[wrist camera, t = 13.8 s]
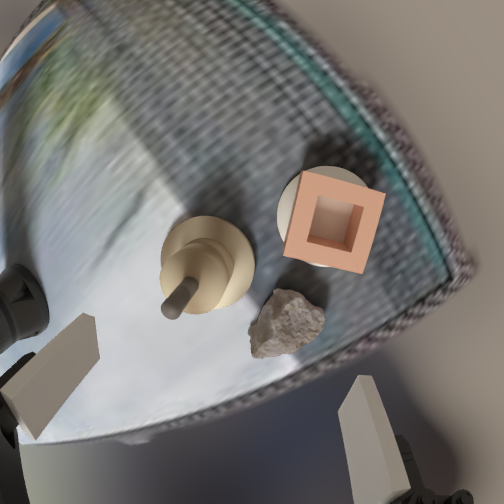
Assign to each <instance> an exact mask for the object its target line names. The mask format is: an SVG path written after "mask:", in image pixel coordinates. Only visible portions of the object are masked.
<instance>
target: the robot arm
mask: <svg viewBox="0 0 504 504" xmlns="http://www.w3.org/2000/svg"><path fill="white" fill-rule="evenodd" d="M48 323H49V312H48V307H47V303H46V300H45V297H44V295H43V292H42V290H41V288H40V286H39V284H38V283H37V281H36V280H35V278H34V277H33V275H32V274H31V273H30V272H29V271H28V270H27V269H26V268H25V267H23V266H22V265H19V264H14V265H11V266H9V267H7V268H6V269H4V271H3V272H2V273H1V274H0V354H2V353H3V352H4V351H5V350H6V349H8V348H9V347H10V346H11V345H12V344H14V343H15V342H16V341H18V340H22V339H26V338H30V337H33V336H37V335H39V334H40V333H42V332H43V331H44V330H45V329H46V328H47V326H48ZM99 359H100V355H99V349H98V341H97V334H96V325H95V317H93V316H90V315H88V314H85V313H82V314H81V315H80V316H79V317H78V318H76V319H75V320H74V321H73V322H72V323H71V324H69V325H68V326H67V327H66V328H65V329H64V330H63V331H61V332H60V333H59V334H58V335H57V336H56V337H55V338H54V339H52V340H51V341H50V342H49V343H48V344H47V345H46V346H45V347H44V348H43V349H41V350H40V351H39V352H38V353H37V354H36V353H34V352H31V353H28V354H26V355H24V356H22V357H21V358H20V359H19V360H18V361H17V363H15V364H14V365H13V366H12V367H11V368H9V369H8V370H7V371H6V372H5V373H4V374H3V375H2V376H1V377H0V504H30V502H29V498H28V494H27V489H26V485H25V480H24V476H23V470H22V464H21V458H20V452H19V442H18V433H17V429H16V427H17V426H18V425H19V426H20V427H21V429H22V430H23V432H24V433H26V434H27V435H28V436H30V437H31V438H33V439H34V440H35V441H36V440H37V438H38V437H39V435H40V434H41V433H42V431H43V430H44V429H45V427H46V426H47V425H48V423H49V422H50V421H51V419H52V418H53V417H54V415H55V414H56V413H57V411H58V410H59V409H60V408H61V406H62V405H63V404H64V402H65V401H66V400H67V399H68V397H69V396H70V395H71V393H72V392H73V391H74V390H75V388H76V387H77V386H78V385H79V383H80V382H81V381H82V380H83V378H84V377H85V376H86V375H87V374H88V372H89V371H90V370H91V369H92V367H93V366H94V365H95V364H96V363H97V361H98V360H99ZM338 415H339V420H340V424H341V430H342V435H343V440H344V445H345V451H346V456H347V461H348V468H349V473H350V479H351V486H352V492H353V499H354V504H473V502H474V501H473V496H472V494H471V493H470V492H469V491H467V490H464V489H463V490H459V491H457V492H455V493H454V494H453V495H451V496H441V495H436V494H435V493H434V492H433V491H432V490H430V489H426V488H425V487H424V485H423V482H422V479H421V476H420V473H419V470H418V468H417V465H416V462H415V461H414V456H413V454H412V451H411V448H410V445H409V443H408V442H407V440H406V439H405V438H404V437H403V436H402V435H395V436H394V434H393V431H392V429H391V426H390V423H389V420H388V417H387V414H386V412H385V409H384V407H383V404H382V401H381V398H380V396H379V393H378V391H377V388H376V386H375V383H374V381H373V378H372V376H365V375H358V376H357V378H356V380H355V382H354V384H353V386H352V388H351V389H350V391H349V393H348V395H347V397H346V398H345V400H344V402H343V404H342V405H341V407H340V409H339V410H338Z"/></svg>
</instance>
